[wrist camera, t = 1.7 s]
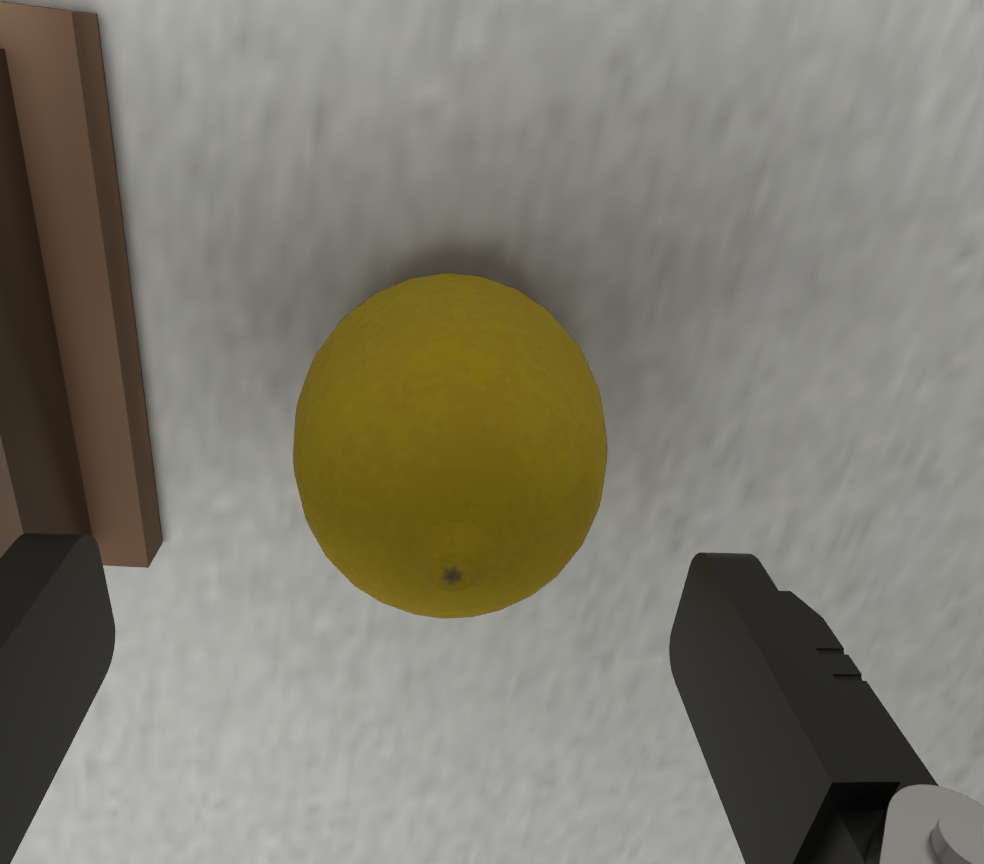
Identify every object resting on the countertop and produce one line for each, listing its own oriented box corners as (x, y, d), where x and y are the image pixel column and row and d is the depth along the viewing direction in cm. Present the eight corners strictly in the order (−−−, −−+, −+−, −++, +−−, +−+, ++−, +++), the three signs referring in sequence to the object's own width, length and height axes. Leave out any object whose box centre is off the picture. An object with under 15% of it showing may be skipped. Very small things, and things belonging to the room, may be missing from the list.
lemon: (330, 218, 15) (229, 370, 8) (588, 245, 16) (705, 408, 9) (327, 446, 18) (250, 713, 11) (549, 462, 18) (615, 724, 11)
